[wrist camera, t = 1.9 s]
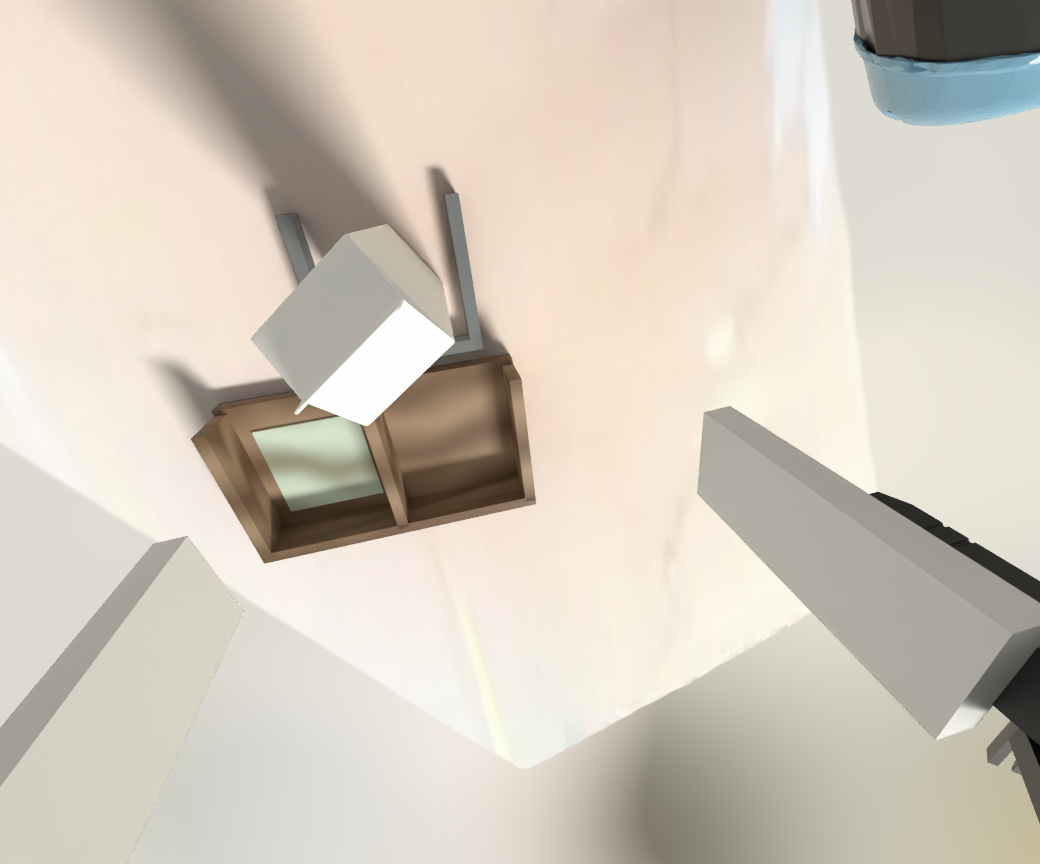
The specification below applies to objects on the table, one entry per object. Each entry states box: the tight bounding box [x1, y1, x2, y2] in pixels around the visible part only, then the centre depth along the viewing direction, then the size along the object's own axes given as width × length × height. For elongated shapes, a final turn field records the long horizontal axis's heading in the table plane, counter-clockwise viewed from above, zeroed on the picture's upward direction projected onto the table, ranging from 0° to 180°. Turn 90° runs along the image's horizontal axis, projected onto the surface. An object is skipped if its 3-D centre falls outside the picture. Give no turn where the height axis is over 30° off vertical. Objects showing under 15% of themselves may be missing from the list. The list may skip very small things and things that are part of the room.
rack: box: [191, 354, 536, 564], centre depth 38 cm, size 14×26×6 cm, turn 97°
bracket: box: [275, 193, 483, 356], centre depth 33 cm, size 12×13×2 cm
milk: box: [251, 224, 455, 426], centre depth 24 cm, size 6×6×22 cm
